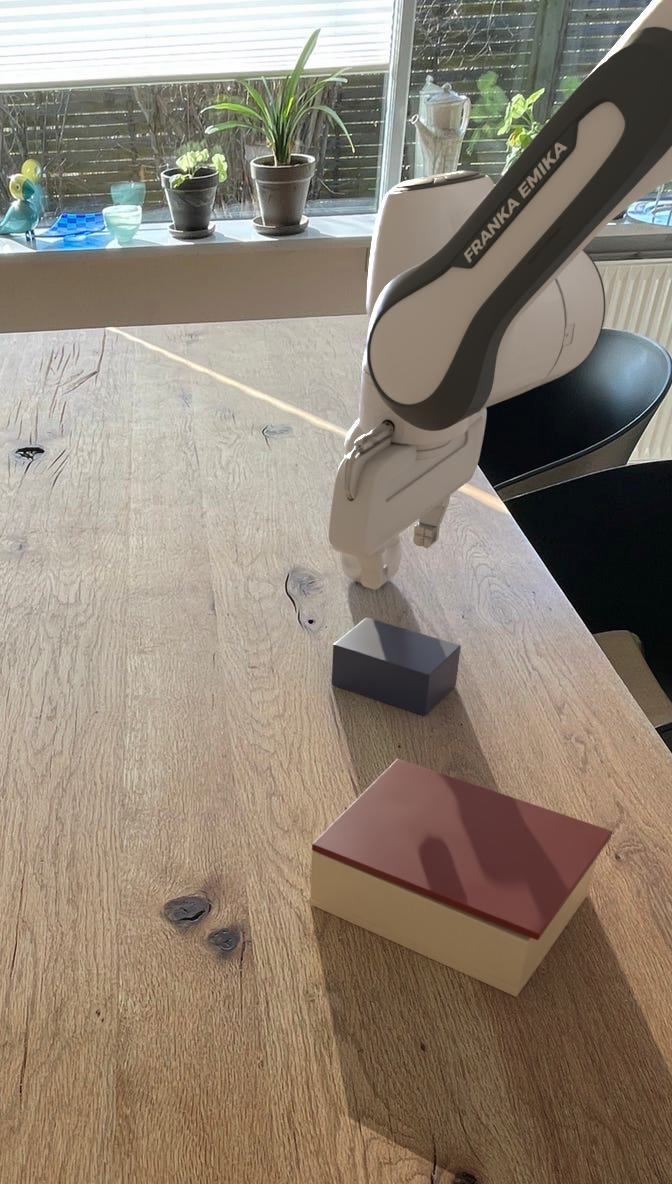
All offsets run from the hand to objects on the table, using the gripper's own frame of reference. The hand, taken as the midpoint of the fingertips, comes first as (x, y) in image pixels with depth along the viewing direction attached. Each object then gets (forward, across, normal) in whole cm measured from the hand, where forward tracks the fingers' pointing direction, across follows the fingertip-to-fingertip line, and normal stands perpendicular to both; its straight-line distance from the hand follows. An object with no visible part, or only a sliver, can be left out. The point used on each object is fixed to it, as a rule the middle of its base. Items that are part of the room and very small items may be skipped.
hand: (400, 563), depth 100 cm
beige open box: (+12, -24, -18) cm, 32 cm away
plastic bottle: (+13, +18, +13) cm, 26 cm away
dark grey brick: (+13, 0, 0) cm, 13 cm away
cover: (+7, -24, -18) cm, 31 cm away
